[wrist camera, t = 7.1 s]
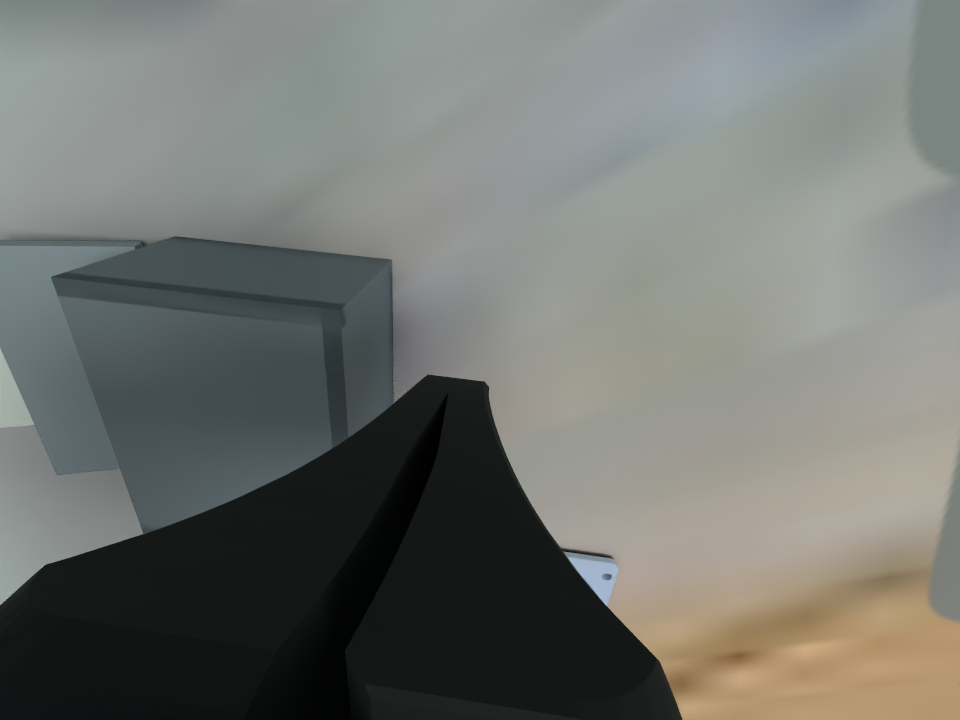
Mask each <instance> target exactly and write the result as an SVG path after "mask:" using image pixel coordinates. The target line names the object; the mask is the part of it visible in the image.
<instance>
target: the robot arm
mask: <svg viewBox="0 0 960 720" xmlns="http://www.w3.org/2000/svg"><path fill="white" fill-rule="evenodd" d="M618 571H619V568H618V563H617V562H616V561H615V560H614V559H611V558H605V557H598V556H591V555H584V554H577V553H570V552H563V551H562V549H561V548H560V547H559V545H558V544H557V543H556V541H555V540H554V538H553V537H552V536H551V534H550V533H549V532H548V530H547V529H546V527H545V526H544V524H543V522H542V521H541V519H540V518H539V516H538V515H537V513H536V511H535V510H534V508H533V507H532V505H531V503H530V501H529V500H528V498H527V496H526V494H525V493H524V491H523V489H522V487H521V485H520V483H519V481H518V479H517V477H516V475H515V473H514V471H513V469H512V467H511V465H510V462H509V460H508V458H507V456H506V453H505V451H504V448H503V446H502V443H501V440H500V437H499V435H498V432H497V429H496V426H495V423H494V419H493V416H492V411H491V407H490V402H489V386H488V385H487V384H486V383H485V382H483V381H475V380H467V379H459V378H450V377H442V376H434V375H427V376H426V377H424V378H423V379H422V380H421V381H419V382H418V383H417V384H416V385H415V386H414V387H412V388H411V389H410V390H409V391H408V392H407V393H406V394H404V395H403V396H402V397H401V398H400V399H398V400H397V401H396V402H395V403H394V404H393V405H391V406H390V407H389V408H387V409H386V410H385V411H384V412H382V413H381V414H380V415H379V416H377V417H376V418H375V419H374V420H372V421H371V422H370V423H368V424H367V425H366V426H364V427H363V428H361V429H360V430H359V431H357V432H356V433H354V434H353V435H352V436H350V437H349V438H347V439H346V440H344V441H343V442H342V443H340V444H339V445H337V446H336V447H334V448H332V449H331V450H329V451H327V452H326V453H324V454H323V455H321V456H319V457H317V458H316V459H314V460H312V461H310V462H309V463H307V464H305V465H303V466H301V467H300V468H298V469H296V470H294V471H292V472H290V473H289V474H287V475H284V476H282V477H280V478H278V479H276V480H274V481H272V482H270V483H268V484H266V485H264V486H261V487H259V488H257V489H255V490H253V491H251V492H249V493H247V494H245V495H243V496H240V497H238V498H236V499H234V500H231V501H229V502H227V503H224V504H222V505H219V506H217V507H215V508H212V509H210V510H207V511H205V512H202V513H200V514H197V515H195V516H192V517H189V518H187V519H184V520H181V521H179V522H176V523H173V524H171V525H168V526H165V527H163V528H160V529H157V530H154V531H151V532H148V533H146V534H143V535H140V536H137V537H133V538H130V539H127V540H124V541H121V542H118V543H115V544H111V545H108V546H105V547H102V548H99V549H96V550H93V551H90V552H86V553H83V554H80V555H77V556H74V557H71V558H67V559H64V560H61V561H57V562H54V563H50V564H47V565H45V566H44V567H43V568H41V569H40V570H39V571H38V572H37V573H36V574H34V575H33V576H32V577H31V578H30V579H29V580H28V581H27V582H26V583H24V584H23V585H22V586H21V587H20V588H19V589H18V590H17V591H16V592H15V593H13V594H12V595H11V596H10V597H9V598H8V599H7V600H6V601H5V602H3V603H2V604H1V605H0V720H682V717H681V714H680V712H679V709H678V706H677V703H676V701H675V698H674V696H673V693H672V691H671V688H670V686H669V683H668V681H667V678H666V676H665V673H664V671H663V668H662V666H661V664H660V662H659V661H658V659H657V658H656V657H655V656H654V655H653V654H652V653H651V652H650V651H649V650H648V649H647V648H646V647H645V646H644V645H643V644H642V643H641V642H640V641H639V640H638V639H637V638H636V636H635V635H634V634H633V633H632V632H631V631H630V630H629V629H628V628H627V627H626V626H625V625H624V624H623V623H622V622H621V621H620V620H619V619H618V618H617V617H616V616H615V615H614V614H613V613H612V611H611V610H610V609H609V608H608V607H607V605H608V602H609V599H610V596H611V593H612V590H613V587H614V584H615V581H616V577H617V574H618ZM607 573H608V574H607Z"/></svg>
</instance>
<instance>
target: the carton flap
mask: <svg viewBox="0 0 960 720" xmlns="http://www.w3.org/2000/svg"><path fill="white" fill-rule="evenodd" d="M141 247H143V245H142V241H42V240H0V428H5V427H18V426H31V425H35V427H36V429H37V431H38V434H39V436H40V438H41V440H42V443H43V445H44V447H45V449H46V452H47V454H48V456H49V458H50V460H51V463H52V465H53V467H54V469H55V472H56V474H57V475H61V474H71V473H81V472H91V471H100V470H110V469H120V467H119V464H118V461H117V459H116V456H115V453H114V450H113V448H112V445H111V442H110V439H109V437H108V434H107V431H106V428H105V425H104V423H103V420H102V417H101V414H100V412H99V409H98V406H97V403H96V401H95V398H94V395H93V392H92V390H91V387H90V384H89V381H88V379H87V376H86V373H85V370H84V368H83V365H82V362H81V359H80V356H79V354H78V351H77V348H76V345H75V343H74V340H73V337H72V334H71V332H70V329H69V326H68V323H67V321H66V318H65V315H64V312H63V310H62V307H61V304H60V301H59V299H58V296H57V293H56V290H55V287H54V285H53V282H52V279H51V277H52V276H55V275H58V274H61V273H64V272H67V271H70V270H74V269H77V268H80V267H83V266H86V265H89V264H92V263H95V262H98V261H101V260H104V259H107V258H111V257H114V256H117V255H120V254H123V253H126V252H129V251H132V250H135V249H138V248H141Z"/></svg>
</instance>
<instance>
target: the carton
mask: <svg viewBox="0 0 960 720" xmlns="http://www.w3.org/2000/svg"><path fill="white" fill-rule="evenodd" d="M51 279H52V282H53V285H54V287H55V290H56V293H57V296H58V299H59V301H60V304H61V307H62V310H63V312H64V315H65V318H66V321H67V323H68V326H69V329H70V332H71V334H72V337H73V340H74V343H75V345H76V348H77V351H78V354H79V356H80V359H81V362H82V365H83V368H84V370H85V373H86V376H87V379H88V381H89V384H90V387H91V390H92V392H93V395H94V398H95V401H96V403H97V406H98V409H99V412H100V414H101V417H102V420H103V423H104V425H105V428H106V431H107V434H108V437H109V439H110V442H111V445H112V448H113V450H114V453H115V456H116V459H117V461H118V464H119V467H120V470H121V472H122V475H123V478H124V481H125V483H126V486H127V489H128V492H129V494H130V497H131V500H132V503H133V505H134V508H135V511H136V514H137V517H138V519H139V522H140V525H141V528H142V530H143V533H144V534H146V533H148V532H151V531H154V530H157V529H160V528H163V527H165V526H168V525H171V524H173V523H176V522H179V521H181V520H184V519H187V518H189V517H192V516H195V515H197V514H200V513H202V512H205V511H207V510H210V509H212V508H215V507H217V506H219V505H222V504H224V503H227V502H229V501H231V500H234V499H236V498H238V497H240V496H243V495H245V494H247V493H249V492H251V491H253V490H255V489H257V488H259V487H261V486H264V485H266V484H268V483H270V482H272V481H274V480H276V479H278V478H280V477H282V476H284V475H287V474H289V473H290V472H292V471H294V470H296V469H298V468H300V467H301V466H303V465H305V464H307V463H309V462H310V461H312V460H314V459H316V458H317V457H319V456H321V455H323V454H324V453H326V452H327V451H329V450H331V449H332V448H334V447H336V446H337V445H339V444H340V443H342V442H343V441H344V440H346V439H347V438H349V437H350V436H352V435H353V434H354V433H356V432H357V431H359V430H360V429H361V428H363V427H364V426H366V425H367V424H368V423H370V422H371V421H372V420H374V419H375V418H376V417H377V416H379V415H380V414H381V413H382V412H384V411H385V410H386V409H387V408H389V407H390V406H391V405H393V315H392V260H388V259H378V258H369V257H360V256H351V255H341V254H332V253H323V252H314V251H304V250H295V249H286V248H277V247H267V246H258V245H249V244H240V243H230V242H221V241H212V240H203V239H193V238H184V237H172V238H169V239H166V240H163V241H160V242H157V243H154V244H151V245H147V246H144V247H141V248H138V249H135V250H132V251H129V252H126V253H123V254H120V255H117V256H114V257H111V258H107V259H104V260H101V261H98V262H95V263H92V264H89V265H86V266H83V267H80V268H77V269H74V270H70V271H67V272H64V273H61V274H58V275H55V276H52V277H51Z"/></svg>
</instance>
